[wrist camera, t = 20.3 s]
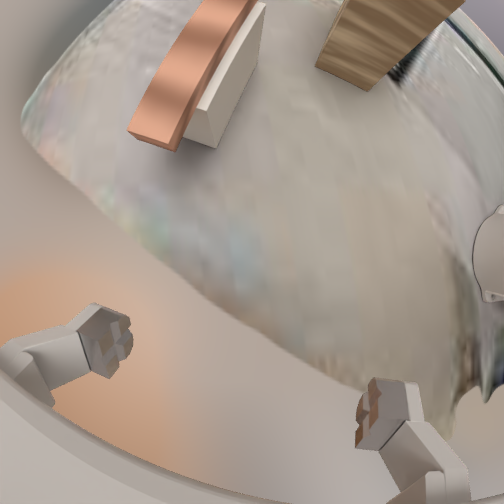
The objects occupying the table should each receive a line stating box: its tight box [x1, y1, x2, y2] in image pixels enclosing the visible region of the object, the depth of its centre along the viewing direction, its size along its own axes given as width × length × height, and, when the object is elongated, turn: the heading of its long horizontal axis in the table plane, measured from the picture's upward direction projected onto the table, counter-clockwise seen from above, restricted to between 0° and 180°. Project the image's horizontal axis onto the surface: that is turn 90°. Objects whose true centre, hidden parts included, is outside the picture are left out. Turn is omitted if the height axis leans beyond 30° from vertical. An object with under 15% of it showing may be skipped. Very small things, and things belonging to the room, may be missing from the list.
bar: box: [127, 0, 258, 152], centre depth 23 cm, size 20×4×3 cm, turn 158°
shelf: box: [183, 1, 266, 149], centre depth 32 cm, size 15×6×14 cm, turn 158°
